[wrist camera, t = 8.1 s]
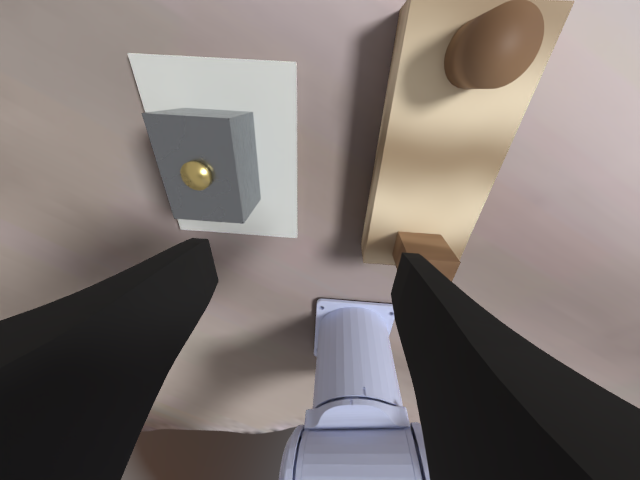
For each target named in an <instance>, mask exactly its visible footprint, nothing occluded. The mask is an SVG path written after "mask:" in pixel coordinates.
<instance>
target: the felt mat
mask: <svg viewBox="0 0 640 480" xmlns="http://www.w3.org/2000/svg"><path fill="white" fill-rule="evenodd" d="M128 57H129V60H130V63H131V67H132V70H133V73H134V77H135V80H136V83H137V87H138V90H139V93H140V97H141V100H142V103H143V107H144V110H145V113H146V112H154V111H162V110H170V109H178V108H197V109H214V110H231V111H248V112H253V117H254V128H255V139H256V150H257V161H258V172H259V184H260V195H261V200H260V201H259V203H258V204H257V206H256V207H255V208H254V210H253V211H252V213H251V214H250V216H249V217H248V218H247V220H246V221H245V223H244V224H240V223H227V222H213V221H199V220H185V219H178V223H179V226H180V229H181V230H194V231H208V232H221V233H235V234H248V235H262V236H275V237H289V238H297V62H289V61H270V60H251V59H232V58H213V57H194V56H175V55H156V54H137V53H128Z"/></svg>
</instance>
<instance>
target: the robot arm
mask: <svg viewBox="0 0 640 480" xmlns="http://www.w3.org/2000/svg"><path fill="white" fill-rule="evenodd" d="M217 283H218V277H217V273H216V269H215V265H214V260H213V256H212V252H211V248H210V244H209V240H208V239H198V238H192V239H189V240H186V241H184V242H182V243H180V244H178V245H176V246H173V247H171V248H169V249H167V250H165V251H163V252H161V253H159V254H157V255H155V256H153V257H151V258H149V259H147V260H145V261H143V262H141V263H139V264H137V265H135V266H133V267H131V268H129V269H127V270H125V271H123V272H121V273H118V274H116V275H114V276H112V277H110V278H108V279H106V280H103V281H101V282H99V283H97V284H95V285H93V286H90V287H88V288H86V289H83V290H81V291H79V292H76V293H74V294H71V295H69V296H66V297H64V298H61V299H59V300H56V301H54V302H51V303H49V304H46V305H43V306H41V307H38V308H35V309H33V310H30V311H27V312H24V313H21V314H18V315H15V316H13V317H10V318H7V319H4V320H1V321H0V480H121V478H122V475H123V473H124V470H125V468H126V465H127V463H128V461H129V458H130V455H131V454H132V451H133V449H134V446H135V444H136V441H137V439H138V437H139V434H140V432H141V430H142V428H143V426H144V423H145V421H146V419H147V417H148V414H149V412H150V410H151V408H152V406H153V403H154V401H155V399H156V397H157V395H158V393H159V391H160V389H161V387H162V385H163V382H164V380H165V378H166V376H167V374H168V372H169V370H170V369H171V367H172V365H173V363H174V361H175V359H176V358H177V356H178V354H179V353H180V351H181V349H182V348H183V346H184V345H185V343H186V341H187V340H188V338H189V336H190V335H191V333H192V331H193V330H194V328H195V326H196V325H197V323H198V321H199V320H200V318H201V316H202V315H203V313H204V311H205V309H206V308H207V306H208V304H209V302H210V300H211V298H212V295H213V293H214V291H215V288H216V286H217ZM391 297H392V304H384V303H372V302H360V301H347V300H335V299H318V300H317V308H316V326H315V343H314V355H315V356H316V357H317V360H316V373H315V385H314V398H313V409H308V410H306V415H305V425H298V426H297V427H296V429H295V430H294V431H293V433H292V435H291V436H290V438H289V439H288V441H287V444H286V446H285V449H284V453H283V457H282V462H281V468H280V475H279V480H640V409H639V408H637V407H636V406H634V405H632V404H630V403H628V402H626V401H625V400H623V399H621V398H620V397H618V396H616V395H614V394H613V393H611V392H609V391H607V390H606V389H604V388H602V387H601V386H599V385H597V384H595V383H594V382H592V381H590V380H589V379H587V378H586V377H584V376H582V375H581V374H579V373H577V372H576V371H574V370H573V369H571V368H569V367H568V366H566V365H564V364H563V363H561V362H560V361H558V360H556V359H555V358H553V357H552V356H550V355H549V354H547V353H546V352H544V351H542V350H541V349H539V348H538V347H536V346H535V345H534V344H532V343H531V342H529V341H528V340H526V339H525V338H523V337H522V336H520V335H519V334H518V333H516V332H515V331H513V330H512V329H510V328H509V327H508V326H506V325H505V324H503V323H502V322H501V321H499V320H498V319H497V318H495V317H494V316H493V315H492V314H490V313H489V312H488V311H486V310H485V309H484V308H483V307H481V306H480V305H479V304H477V303H476V302H475V301H474V300H473V299H471V298H470V297H469V296H468V295H467V294H465V293H464V292H463V291H462V290H461V289H459V288H458V287H457V286H456V285H455V284H454V283H452V282H451V281H450V280H449V279H448V278H447V277H446V276H445V275H443V274H442V273H441V272H440V271H439V270H438V269H437V268H436V267H434V266H433V265H432V264H431V263H430V262H429V261H428V260H426V259H425V258H424V257H423V256H422V255H420V254H419V253H404V252H402V254H401V258H400V262H399V266H398V269H397V273H396V277H395V280H394V284H393V288H392V292H391ZM320 306H323V307H320ZM394 318H395V321H396V325H397V329H398V332H399V336H400V340H401V343H402V347H403V350H404V354H405V357H406V361H407V364H408V368H409V371H410V375H411V378H412V382H413V386H414V391H415V395H416V400H417V406H418V411H419V416H420V422H421V425H420V424H419V423H417V422H412V423H411V429H410V423H409V419H408V414H407V409H406V407H403V405H402V400H401V395H400V390H399V385H398V380H397V375H396V370H395V365H394V360H393V356H392V351H391V346H390V341H389V334H390V331H391V328H392V325H393V322H394Z"/></svg>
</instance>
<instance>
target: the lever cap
mask: <svg viewBox="0 0 640 480" xmlns="http://www.w3.org/2000/svg"><path fill="white" fill-rule="evenodd" d="M142 116H143V119H144V122H145V126H146V129H147V132H148V135H149V139H150V142H151V145H152V148H153V152H154V155H155V158H156V161H157V165H158V168H159V171H160V174H161V177H162V181H163V184H164V187H165V190H166V194H167V197H168V200H169V203H170V207H171V210H172V213H173V216H174V219H185V220H199V221H213V222H227V223H240V224H244V223H245V221H246V220H247V218H248V217H249V216H250V214H251V213H252V211H253V210H254V208H255V207H256V206H257V204H258V203H259V201H260V200H261V195H260V184H259V172H258V161H257V150H256V139H255V128H254V117H253V112H248V111H231V110H214V109H197V108H178V109H170V110H162V111H154V112H146V113H142Z"/></svg>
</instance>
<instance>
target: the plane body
mask: <svg viewBox="0 0 640 480" xmlns="http://www.w3.org/2000/svg"><path fill="white" fill-rule="evenodd" d="M573 4H574V1H560V0H407V1H406V2H405V4H404V5H403V6H402V8H401V9H400V12H399V18H398V24H397V30H396V36H395V42H394V48H393V54H392V60H391V66H390V72H389V78H388V84H387V90H386V96H385V102H384V109H383V115H382V121H381V127H380V133H379V139H378V145H377V151H376V157H375V163H374V169H373V175H372V181H371V187H370V193H369V199H368V205H367V211H366V217H365V223H364V230H363V236H362V242H361V249H362V256H363V263H370V264H383V265H396V268H397V269H398V266H399V262H400V258H401V254H402V252H404V253H419V254H420V255H422V256H423V257H424V258H425V259H426V260H428V261H429V262H430V263H431V264H432V265H433V266H434V267H436V268H437V269H438V270H439V271H440V272H441V273H442V274H443V275H445V276H446V277H447V278H448V279H449V280H450V281H451V282H452V280H453V278H454V276H455V273H456V271H457V269H458V267H459V265H460V261H459V260H460V258H461V255H462V253H463V251H464V249H465V246H466V244H467V242H468V240H469V237H470V235H471V233H472V231H473V228H474V226H475V224H476V222H477V219H478V217H479V215H480V213H481V210H482V208H483V206H484V204H485V201H486V199H487V197H488V195H489V192H490V190H491V188H492V186H493V183H494V181H495V179H496V177H497V174H498V172H499V170H500V168H501V165H502V163H503V161H504V159H505V156H506V154H507V152H508V150H509V147H510V145H511V143H512V141H513V138H514V136H515V134H516V132H517V129H518V127H519V125H520V123H521V120H522V118H523V116H524V114H525V111H526V109H527V107H528V105H529V102H530V100H531V98H532V96H533V94H534V91H535V89H536V87H537V85H538V82H539V80H540V78H541V76H542V73H543V71H544V69H545V67H546V64H547V62H548V60H549V58H550V55H551V53H552V51H553V49H554V46H555V44H556V42H557V40H558V37H559V35H560V33H561V31H562V28H563V26H564V24H565V22H566V19H567V17H568V15H569V13H570V10H571V8H572V6H573Z"/></svg>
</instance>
